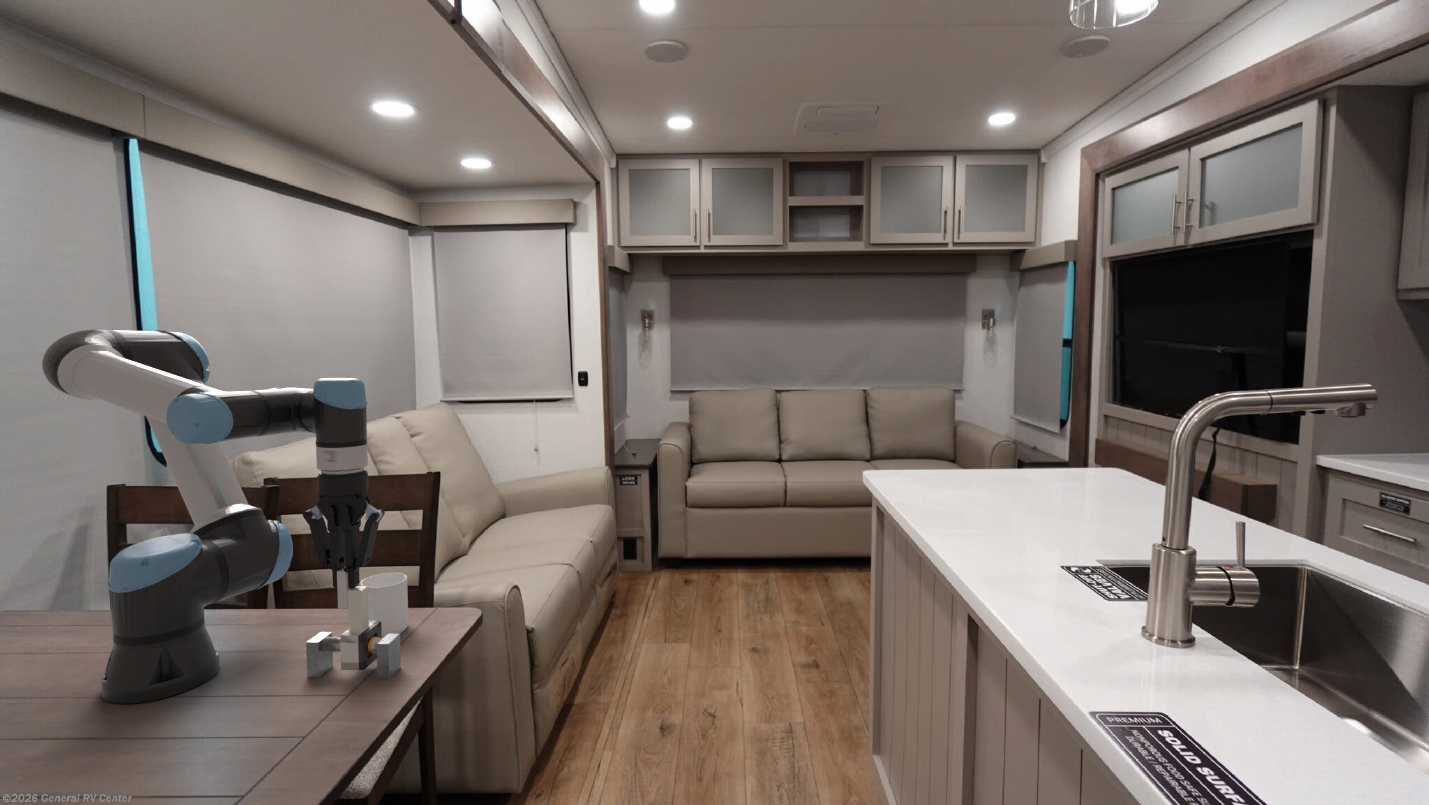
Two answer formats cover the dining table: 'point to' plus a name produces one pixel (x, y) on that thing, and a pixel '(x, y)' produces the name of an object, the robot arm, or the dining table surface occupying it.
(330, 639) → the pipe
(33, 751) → the dining table surface
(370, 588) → the mug
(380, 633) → the sleeve
